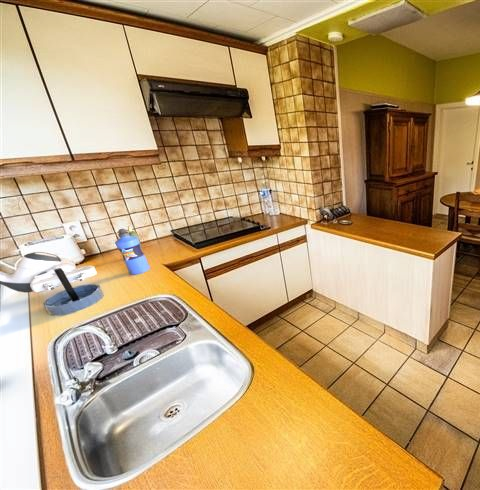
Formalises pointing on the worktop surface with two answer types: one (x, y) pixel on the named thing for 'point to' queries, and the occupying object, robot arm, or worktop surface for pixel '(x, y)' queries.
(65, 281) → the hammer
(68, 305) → the blue grey round bowl
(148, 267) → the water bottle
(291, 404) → the worktop surface
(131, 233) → the vegetable
